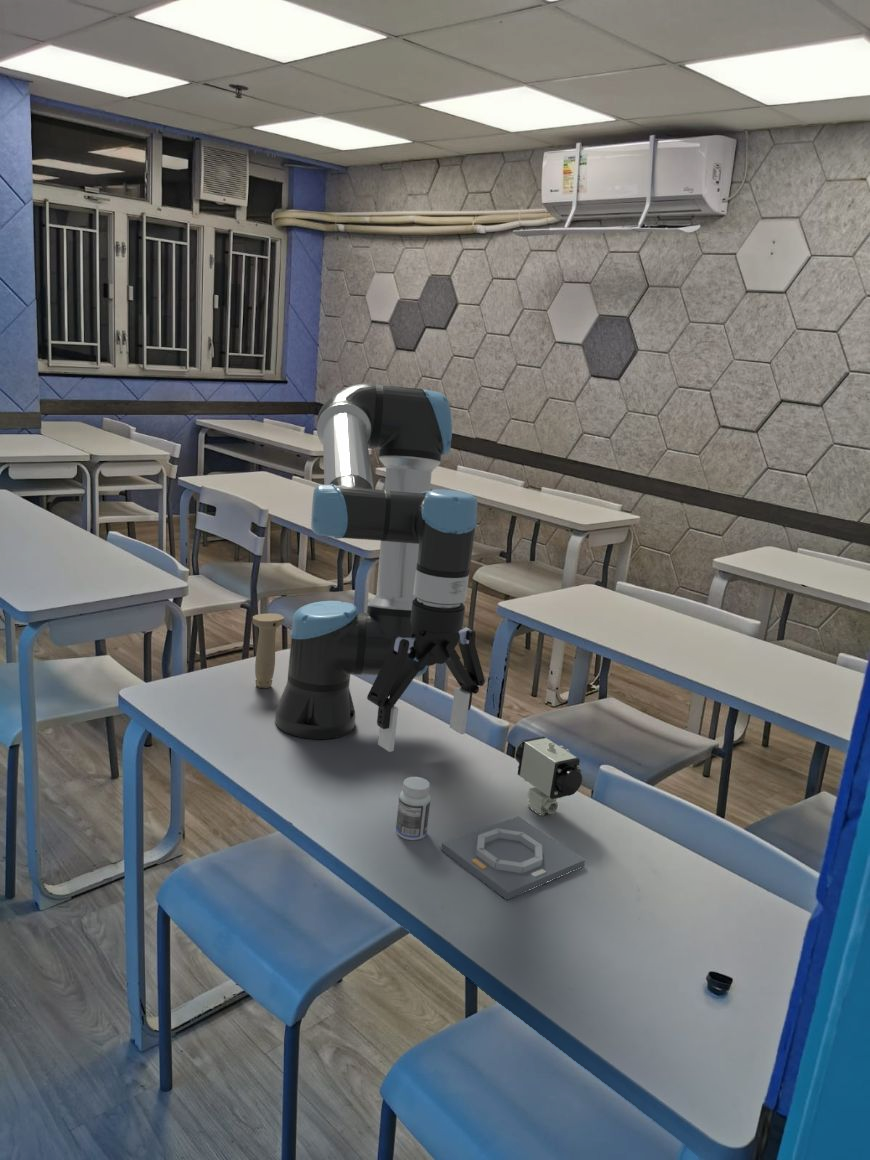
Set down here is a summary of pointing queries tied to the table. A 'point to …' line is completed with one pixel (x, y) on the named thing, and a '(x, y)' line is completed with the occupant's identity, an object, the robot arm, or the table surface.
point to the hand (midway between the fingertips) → (422, 739)
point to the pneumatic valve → (547, 773)
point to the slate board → (512, 856)
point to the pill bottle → (413, 809)
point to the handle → (266, 647)
